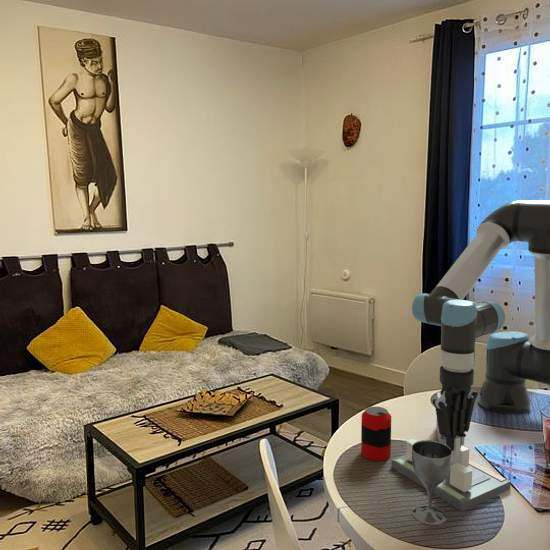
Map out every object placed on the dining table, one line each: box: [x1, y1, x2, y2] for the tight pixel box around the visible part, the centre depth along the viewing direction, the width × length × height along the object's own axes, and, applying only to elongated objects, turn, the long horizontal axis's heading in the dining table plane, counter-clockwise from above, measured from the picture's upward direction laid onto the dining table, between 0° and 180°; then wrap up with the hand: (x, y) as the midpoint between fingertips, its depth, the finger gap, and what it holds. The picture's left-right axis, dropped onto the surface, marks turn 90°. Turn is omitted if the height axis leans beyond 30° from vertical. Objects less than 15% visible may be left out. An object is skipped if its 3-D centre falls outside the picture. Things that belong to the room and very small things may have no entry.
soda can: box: [360, 406, 392, 462], centre depth 142 cm, size 8×8×12 cm
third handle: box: [450, 463, 472, 492], centre depth 123 cm, size 2×4×4 cm, turn 31°
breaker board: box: [391, 454, 511, 512], centre depth 131 cm, size 16×22×2 cm
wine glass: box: [411, 439, 452, 526], centre depth 116 cm, size 8×8×15 cm
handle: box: [405, 438, 419, 461], centre depth 135 cm, size 2×4×4 cm, turn 31°
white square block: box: [451, 445, 470, 467], centre depth 132 cm, size 2×4×4 cm, turn 31°
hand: (453, 461), depth 132 cm, fingers closed
